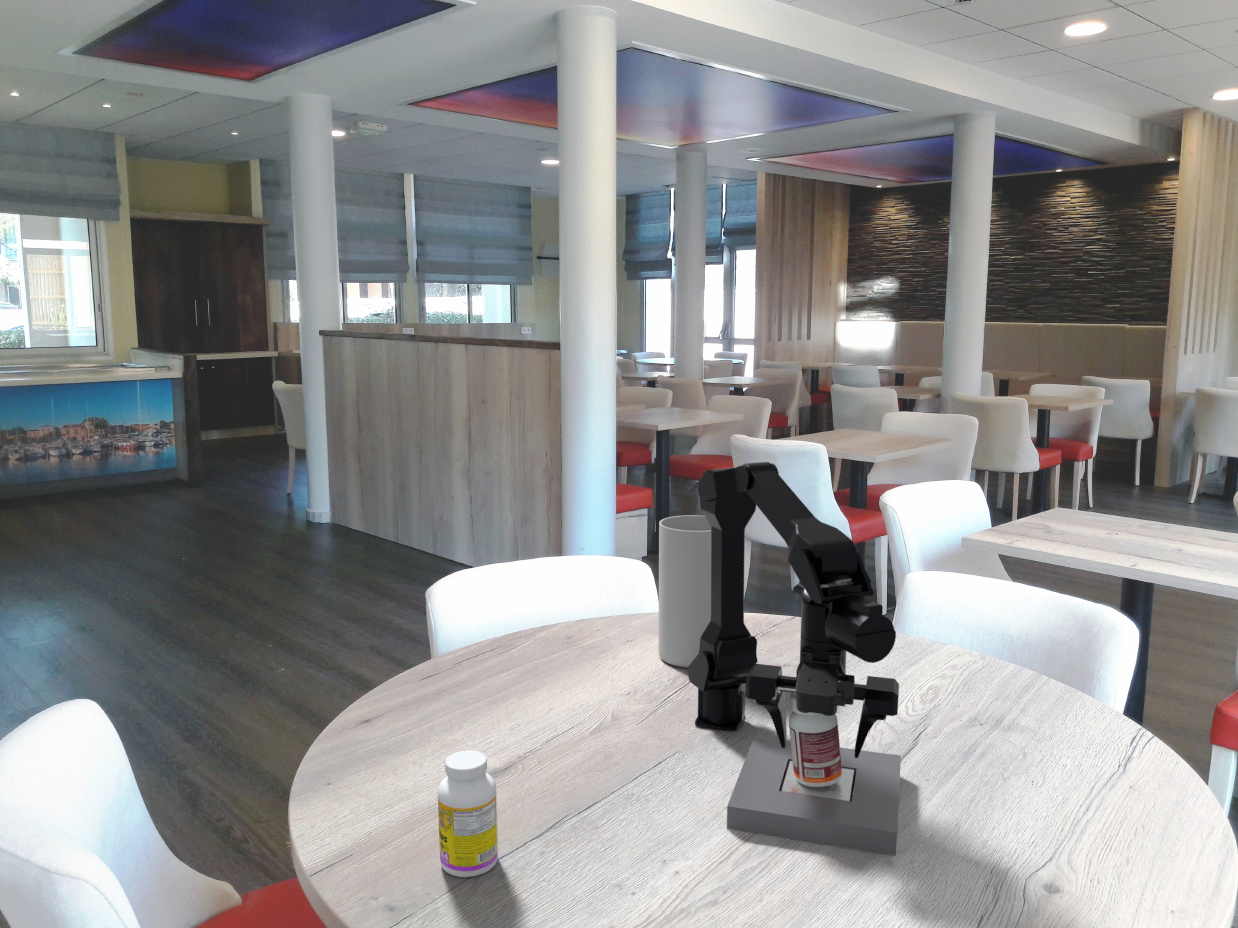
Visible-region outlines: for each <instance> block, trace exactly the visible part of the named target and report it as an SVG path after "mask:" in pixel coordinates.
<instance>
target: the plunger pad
mask: <svg viewBox="0 0 1238 928" xmlns="http://www.w3.org/2000/svg"><path fill="white" fill-rule="evenodd" d="M853 785H854V770H851V769H844V768H842V776H841V779H840V780H839V781H838V782H836V783H835V784H832V785H829V786H824V787H810V786H806V785H803V784H801V783H800V782H798V781H797V780H796V778H795V777H794V770H793V761H790V763H789V766H788V770H787V773H786V777H785V780H784V784H783V787H782V792H788V793H795V794H802V795H809V796H815V797H822V798H829V799H835V800H842V801H849V802H852V798H853V791H854V789H853Z"/></svg>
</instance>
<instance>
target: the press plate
mask: <svg viewBox="0 0 1238 928" xmlns="http://www.w3.org/2000/svg"><path fill="white" fill-rule="evenodd" d="M749 746H750V747H749V749H748V752H747V754H746V757H745V759H744V761H743V764H742V766H741V769H740V772H739V774H738V777H737V780H736V783H735V785H734V788H733V790H732V793H731V795H730V798H729V800H728V803H727V805H726V806H727V807H726V830H727V829H728V830H733V831H734V830H735V831H739V832H746V833H750V834H751V833H752V834H758V835H764V836H770V837H776V838H780V839H781V838H783V839H789V840H794V841H800V842H801V841H802V842H806V843H807V842H808V843H812V844H818V845H819V844H820V845H826V846H831V847H836V848H837V847H838V848H843V849H850V850H857V851H862V852H870V853H874V854H879V855H886V856H893V857H897V845H898V844H897V843H898V841H897V840H898V825H899V823H898V822H899V805H900V804H899V801H900V781H901V780H900V779H901V759H902V758H901V757H902V756H901V755H899V754H892V753H885V752H877V751H869V750H862V749H861V751H860V754H859V756H858V758H855V748H845V747H840V755H841V766H842V768H844V769H851V770H854V785H853V796H852V802H849V801H842V800H835V799H829V798H822V797H815V796H809V795H802V794H795V793H788V792H782V787H783V784H784V780H785V777H786V773H787V770H788V766H789V763H790V761H792V751H791V740H788V739H786V746H785V748H782V747H781V744H780V741H779V738H773V737H772V738H771V737H766V736H763V737H762V736H757V735H754V736H753V738H752V741H751V744H750V745H749Z"/></svg>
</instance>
